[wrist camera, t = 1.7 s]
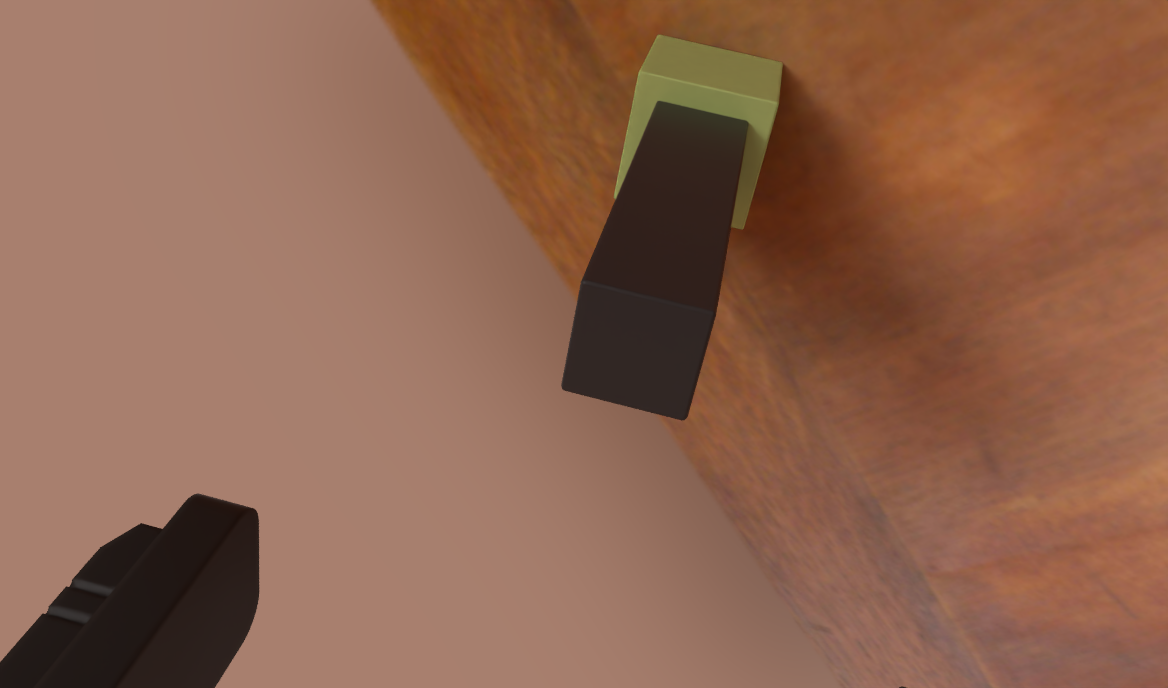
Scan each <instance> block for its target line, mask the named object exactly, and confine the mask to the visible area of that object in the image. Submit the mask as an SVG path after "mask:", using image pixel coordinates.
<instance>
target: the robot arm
mask: <svg viewBox="0 0 1168 688" xmlns="http://www.w3.org/2000/svg"><path fill="white" fill-rule="evenodd" d="M258 598H259V519H258V513H257V511H256V510H255V509H253V508H250V507H246V506H243V505H239V504H235V503H231V502H228V501H224V500H220V499H217V498H213V497H209V496H206V495H202V494H194V495H193V496H191V497H190V498H188V499H187V500H186V502H185V503H184V504H183V505H182V506H181V507H180V509H179V510H178V511H177V512H176V514H175V515H174V516H173V517H172V518H171V520H170V521H169V522H168V523H167V525H166V526H165V527H164V528H163V529H160V528H157V527H153V526H149V525H146V524H142V523H141V524H140V525H137V526H136V527H134V528H132V529H131V530H129V531H127V532H126V533H124V534H122V535H121V536H119V537H117V538H115V539H114V540H112V541H110V542H109V543H107V544H105V545H104V546H102V547H100V549H99V550H98V551H97V552H96V553H95V554H94V555H93V557H92V558H91V559H90V560H89V561H88V562H87V563H86V565H85V566H84V567H83V568H82V569H81V570H80V572H79V573H78V574H77V575H76V576H75V577H74V578H73V580H72V583H71V585H70V587H65V589H64V590H63V591H62V592H61V593H60V594H59V596H58V597H57V598H56V599H55V600H54V601H53V603H52V604H51V605H50V606H49V609H48V611H47V613H46V614H42V615H41V616H40V617H39V618H38V619H37V621H36V622H35V623H34V624H33V625H32V626H31V628H30V629H29V630H28V631H27V632H26V633H25V634H24V636H23V637H22V638H21V639H20V640H19V641H18V642H17V644H16V645H15V646H14V647H13V648H12V649H11V650H10V652H9V653H8V654H7V655H6V656H5V657H4V658H3V660H2V661H1V662H0V688H215V686H216V685H217V683H218V682H219V680H220V678H221V677H222V675H223V674H224V672H225V670H226V669H227V667H228V666H229V664H230V663H231V661H232V659H233V658H234V656H235V655H236V653H237V651H238V650H239V648H240V647H241V645H242V643H243V642H244V640H245V638H246V636H247V634H248V632H249V630H250V627H251V624H252V622H253V619H254V615H255V613H256V609H257V604H258ZM899 688H906V687H899Z"/></svg>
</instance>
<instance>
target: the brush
mask: <svg viewBox="0 0 1168 688" xmlns="http://www.w3.org/2000/svg"><path fill="white" fill-rule="evenodd" d="M782 69H783V63H782V62H778V61H774V60H769V59H765V58H761V57H756V56H752V55H747V54H743V53H738V52H734V51H730V50H725V49H721V48H716V47H712V46H708V45H703V44H699V43H694V42H690V41H685V40H681V39H677V38H672V37H668V36H663V35H657V37H656V39H655V41H654V43H653V45H652V47H651V49H650V51H649V53H648V55H647V57H646V59H645V61H644V63H643V65H642V67H641V69H640V71H639V74H638V79H637V84H636V89H635V94H634V99H633V103H632V108H631V113H630V118H629V123H628V128H627V133H626V138H625V143H624V148H623V153H622V158H621V163H620V168H619V173H618V178H617V183H616V188H615V193H614V199H616V200H615V202H614V205H613V207H612V210H611V212H610V214H609V217H608V219H607V221H606V224H605V226H604V229H603V231H602V233H601V236H600V238H599V241H598V243H597V245H596V248H595V250H594V253H593V255H592V257H591V260H590V262H589V264H588V267H587V269H586V272H585V274H584V276H583V279H582V281H581V285H580V290H579V296H578V301H577V306H576V311H575V317H574V322H573V328H572V332H571V338H570V343H569V348H568V353H567V358H566V364H565V369H564V374H563V380H562V389H563V390H565V391H569V392H572V393H576V394H580V395H584V396H589V397H592V398H596V399H600V400H604V401H608V402H612V403H616V404H620V405H624V406H628V407H632V408H635V409H639V410H643V411H647V412H651V413H655V414H659V415H663V416H667V417H671V418H675V419H679V420H685V419H686V418H687V417H688V413H689V410H690V406H691V403H692V399H693V395H694V392H695V388H696V385H697V381H698V378H699V374H700V370H701V367H702V363H703V360H704V356H705V353H706V349H707V345H708V342H709V338H710V335H711V331H712V328H713V324H714V320H715V317H716V312H717V306H718V300H719V294H720V289H721V283H722V277H723V271H724V265H725V260H726V254H727V248H728V242H729V236H730V230H731V227H733V228H737V229H744V226H745V223H746V219H747V216H748V212H749V209H750V205H751V202H752V198H753V194H754V191H755V187H756V184H757V180H758V177H759V173H760V170H761V166H762V163H763V159H764V155H765V152H766V148H767V145H768V141H769V138H770V134H771V131H772V127H773V124H774V120H775V116H776V113H777V109H778V106H779V98H780V89H781V79H782Z"/></svg>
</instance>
